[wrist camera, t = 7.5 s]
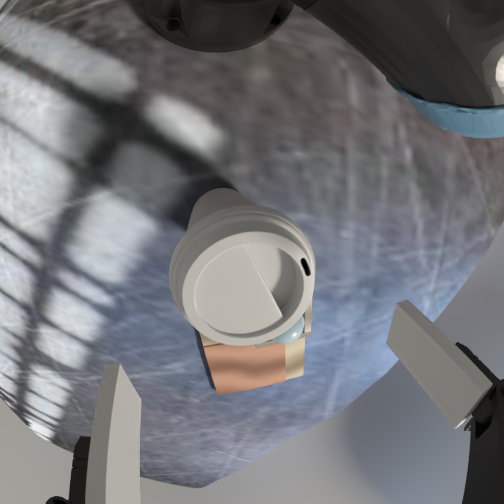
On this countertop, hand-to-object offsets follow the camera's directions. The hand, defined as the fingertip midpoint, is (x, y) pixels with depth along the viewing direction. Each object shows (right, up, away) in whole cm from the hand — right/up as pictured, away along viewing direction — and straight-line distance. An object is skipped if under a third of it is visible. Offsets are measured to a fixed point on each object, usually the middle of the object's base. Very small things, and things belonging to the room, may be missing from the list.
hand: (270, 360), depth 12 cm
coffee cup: (-4, +8, +18) cm, 20 cm away
